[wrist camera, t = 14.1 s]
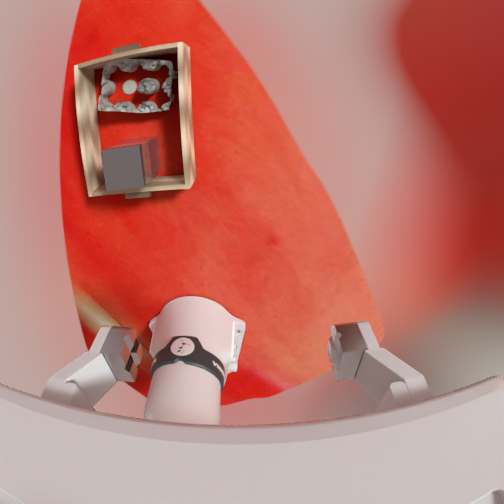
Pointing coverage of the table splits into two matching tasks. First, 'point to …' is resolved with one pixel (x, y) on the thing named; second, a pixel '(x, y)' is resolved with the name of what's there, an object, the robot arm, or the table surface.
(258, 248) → the table surface
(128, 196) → the tote
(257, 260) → the table surface
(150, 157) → the tin
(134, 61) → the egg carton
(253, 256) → the table surface
